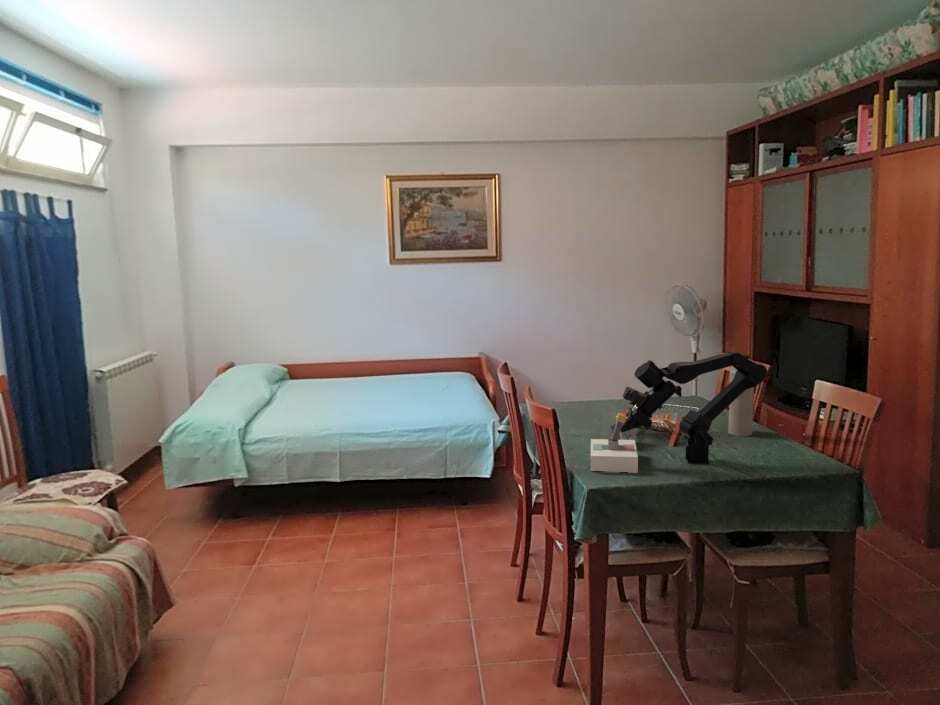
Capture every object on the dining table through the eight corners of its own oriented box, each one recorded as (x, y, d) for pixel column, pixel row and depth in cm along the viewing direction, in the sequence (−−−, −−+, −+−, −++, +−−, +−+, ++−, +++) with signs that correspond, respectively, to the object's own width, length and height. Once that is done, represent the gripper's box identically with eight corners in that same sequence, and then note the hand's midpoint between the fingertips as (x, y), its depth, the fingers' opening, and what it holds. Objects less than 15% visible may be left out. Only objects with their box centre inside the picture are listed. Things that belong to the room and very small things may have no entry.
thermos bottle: (751, 430, 256) (754, 353, 251) (752, 436, 248) (755, 357, 244) (728, 429, 258) (730, 353, 254) (728, 435, 251) (730, 356, 246)
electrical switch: (625, 449, 239) (622, 422, 238) (611, 448, 242) (608, 421, 241) (637, 442, 246) (635, 416, 245) (624, 441, 249) (621, 415, 248)
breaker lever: (616, 445, 226) (625, 414, 224) (616, 448, 223) (626, 417, 220) (608, 443, 226) (618, 412, 224) (608, 446, 223) (618, 415, 221)
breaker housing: (634, 454, 233) (634, 432, 231) (637, 472, 215) (637, 448, 214) (591, 453, 235) (590, 431, 234) (590, 471, 218) (590, 447, 216)
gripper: (636, 372, 228) (601, 406, 232) (640, 385, 210) (602, 421, 214) (661, 396, 228) (626, 429, 232) (668, 411, 210) (629, 446, 214)
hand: (620, 431), depth 223 cm, fingers closed, pressing on breaker lever
